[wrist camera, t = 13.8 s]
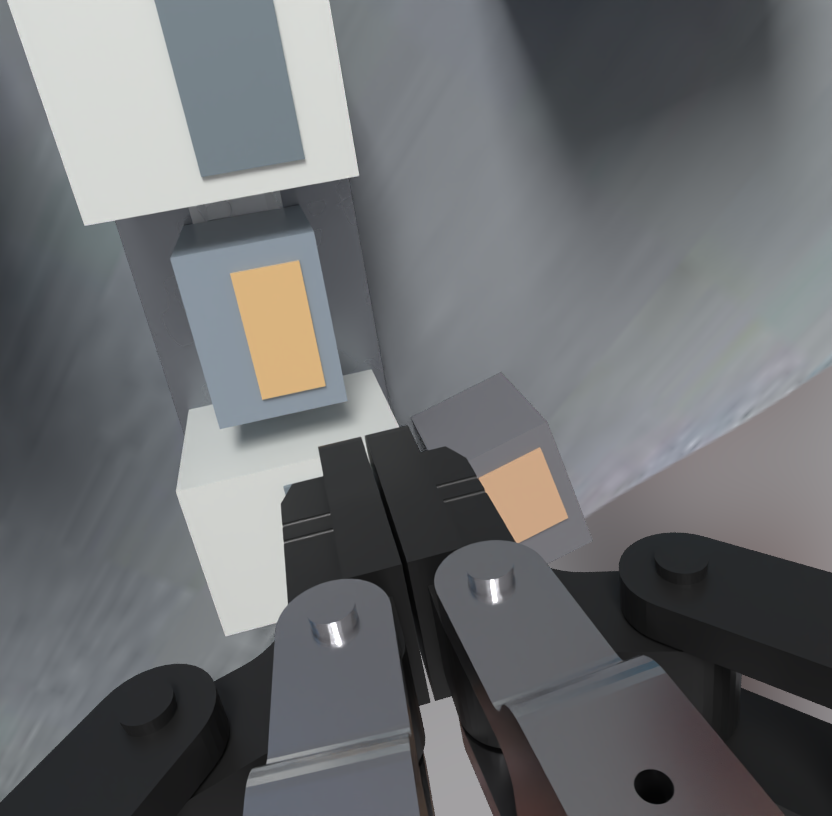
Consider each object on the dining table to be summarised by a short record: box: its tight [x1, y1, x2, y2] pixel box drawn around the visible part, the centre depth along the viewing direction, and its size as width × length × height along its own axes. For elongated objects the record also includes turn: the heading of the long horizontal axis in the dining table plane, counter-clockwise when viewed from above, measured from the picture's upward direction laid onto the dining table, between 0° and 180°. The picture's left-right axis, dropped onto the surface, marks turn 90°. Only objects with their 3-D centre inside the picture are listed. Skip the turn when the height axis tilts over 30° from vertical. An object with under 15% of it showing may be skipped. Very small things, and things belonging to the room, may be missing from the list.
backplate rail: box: [115, 178, 390, 436], centre depth 30 cm, size 9×22×2 cm, turn 8°
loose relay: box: [411, 372, 593, 564], centre depth 34 cm, size 5×7×6 cm
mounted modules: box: [7, 0, 399, 636], centre depth 26 cm, size 8×22×7 cm, turn 9°
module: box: [170, 205, 348, 429], centre depth 26 cm, size 5×6×6 cm
